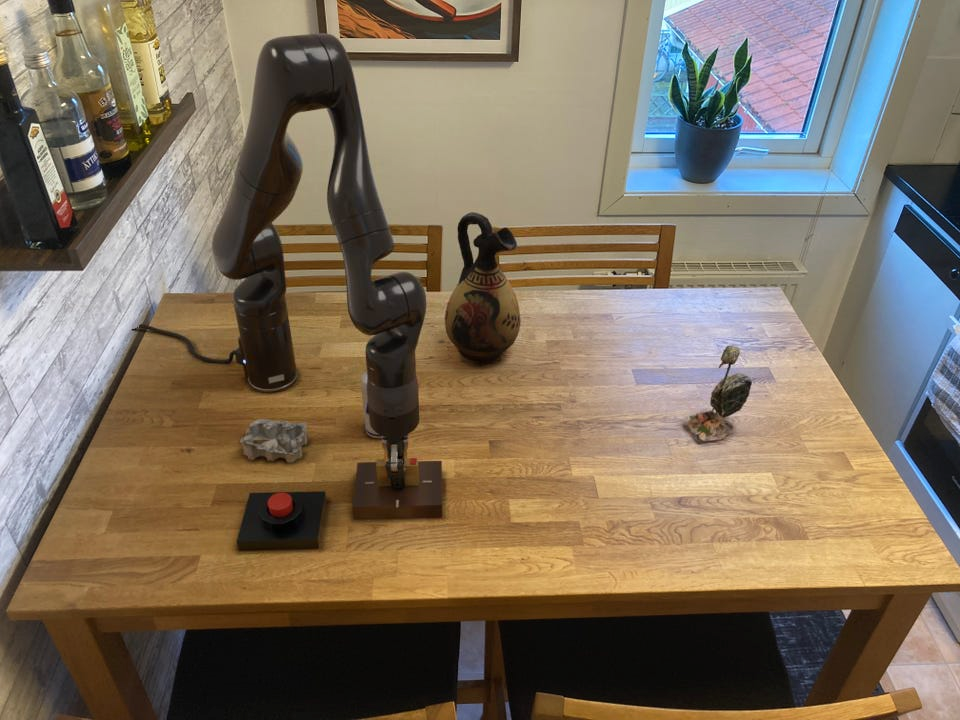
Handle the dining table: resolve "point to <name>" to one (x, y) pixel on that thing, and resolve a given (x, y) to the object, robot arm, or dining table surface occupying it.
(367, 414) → the energy drink
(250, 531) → the button box
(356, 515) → the dark brown flat block
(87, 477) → the dining table surface
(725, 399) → the plant with pod
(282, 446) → the egg carton
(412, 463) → the handle
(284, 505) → the release button
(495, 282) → the ceramic jug
